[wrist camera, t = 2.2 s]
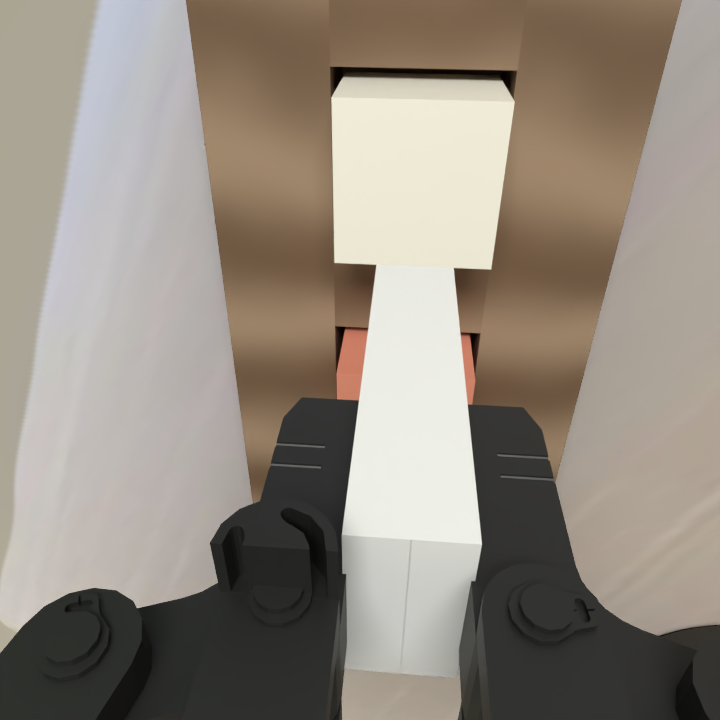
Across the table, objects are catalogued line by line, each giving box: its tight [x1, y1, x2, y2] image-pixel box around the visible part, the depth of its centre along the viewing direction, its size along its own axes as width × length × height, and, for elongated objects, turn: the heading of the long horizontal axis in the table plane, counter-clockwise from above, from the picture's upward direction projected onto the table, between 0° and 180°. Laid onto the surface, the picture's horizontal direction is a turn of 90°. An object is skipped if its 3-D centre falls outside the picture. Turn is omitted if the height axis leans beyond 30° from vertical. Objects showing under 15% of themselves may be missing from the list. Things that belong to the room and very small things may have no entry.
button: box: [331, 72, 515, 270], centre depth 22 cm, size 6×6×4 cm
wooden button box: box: [186, 0, 682, 504], centre depth 31 cm, size 33×16×5 cm, turn 0°
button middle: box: [336, 327, 475, 405], centre depth 28 cm, size 6×6×4 cm
